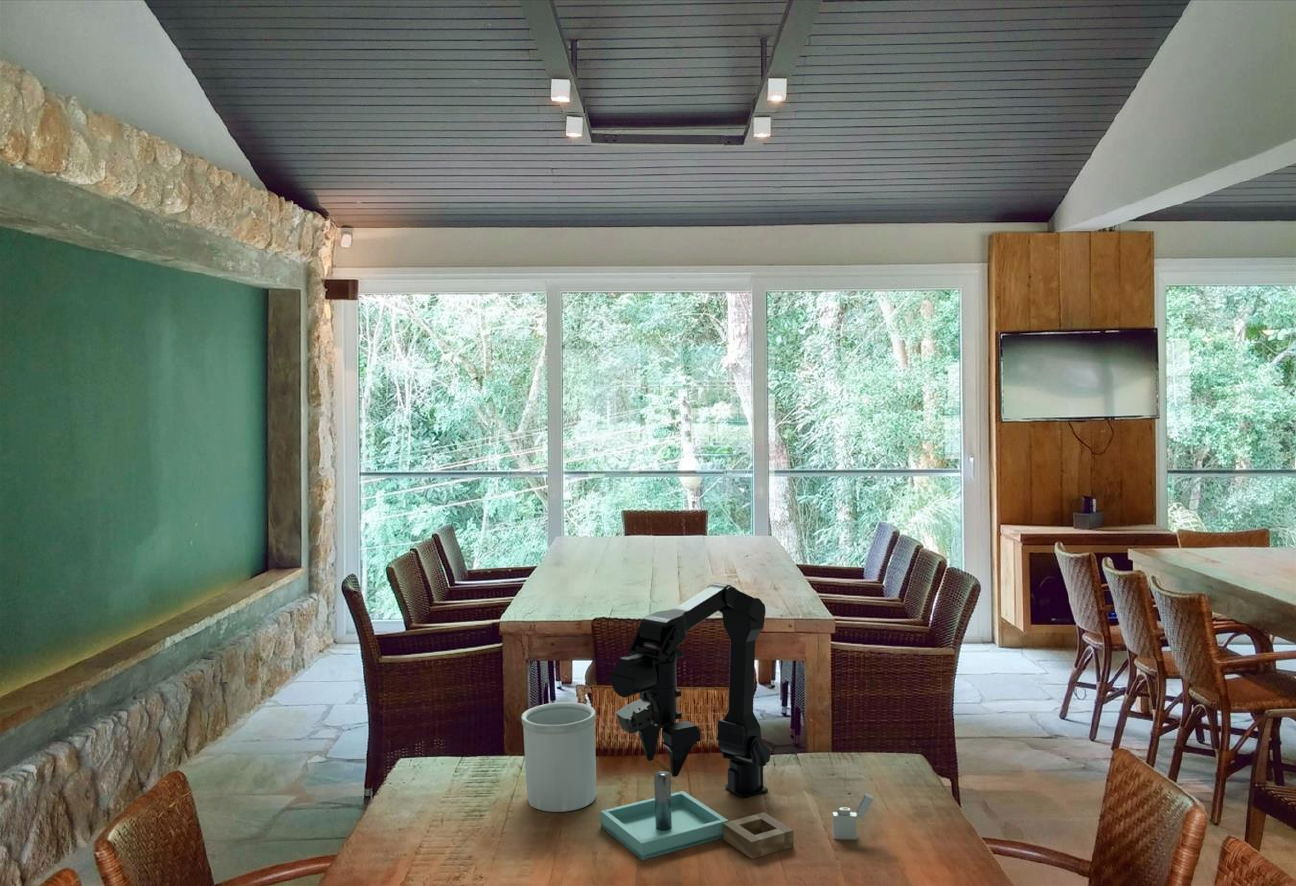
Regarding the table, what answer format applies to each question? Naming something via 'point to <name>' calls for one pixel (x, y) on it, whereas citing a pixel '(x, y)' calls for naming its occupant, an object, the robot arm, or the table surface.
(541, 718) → the utensil holder
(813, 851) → the table surface
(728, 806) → the table surface
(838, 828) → the lighter
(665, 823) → the pin
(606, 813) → the tray
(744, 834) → the pin holder
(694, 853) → the table surface
